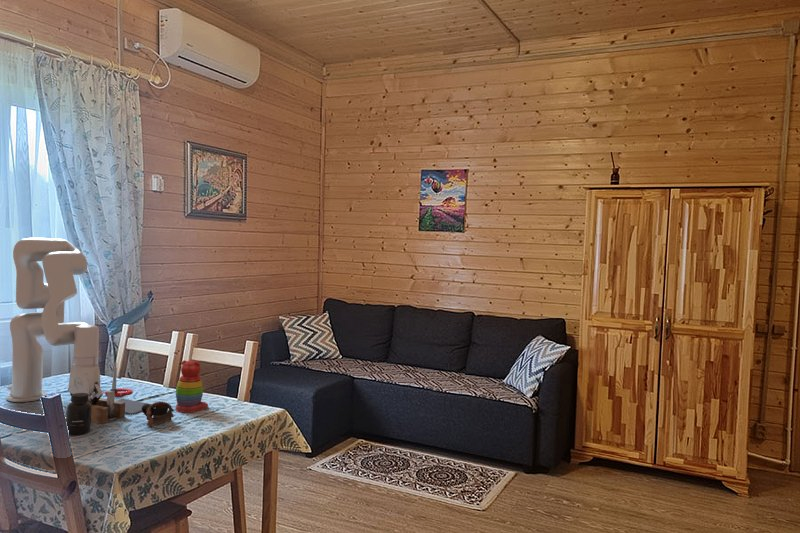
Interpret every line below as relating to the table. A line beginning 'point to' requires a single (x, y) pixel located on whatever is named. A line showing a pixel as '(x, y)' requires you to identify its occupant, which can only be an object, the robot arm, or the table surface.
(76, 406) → the supplement bottle
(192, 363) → the stacking bear
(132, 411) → the mat
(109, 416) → the post
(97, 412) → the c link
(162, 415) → the pottery mug
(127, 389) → the tow hook
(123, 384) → the table surface
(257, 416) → the table surface
